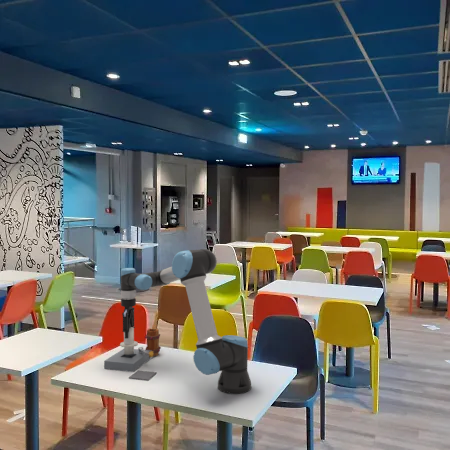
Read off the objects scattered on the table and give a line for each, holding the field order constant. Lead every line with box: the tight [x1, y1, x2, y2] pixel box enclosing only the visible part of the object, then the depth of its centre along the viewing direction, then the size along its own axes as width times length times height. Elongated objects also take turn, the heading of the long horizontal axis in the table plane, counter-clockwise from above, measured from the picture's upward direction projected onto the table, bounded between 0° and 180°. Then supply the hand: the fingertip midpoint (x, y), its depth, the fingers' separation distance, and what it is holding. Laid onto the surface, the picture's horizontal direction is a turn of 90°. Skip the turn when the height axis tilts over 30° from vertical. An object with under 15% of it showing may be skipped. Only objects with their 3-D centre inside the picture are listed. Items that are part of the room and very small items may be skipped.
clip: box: [138, 346, 154, 360], centre depth 245 cm, size 18×3×3 cm, turn 29°
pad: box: [128, 369, 157, 381], centre depth 229 cm, size 10×10×1 cm
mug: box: [144, 324, 162, 357], centre depth 263 cm, size 15×8×15 cm, turn 179°
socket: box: [103, 348, 151, 373], centre depth 247 cm, size 22×16×5 cm
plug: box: [119, 324, 139, 355], centre depth 247 cm, size 9×9×15 cm
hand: (128, 342), depth 247 cm, fingers closed on plug, 5 cm apart
